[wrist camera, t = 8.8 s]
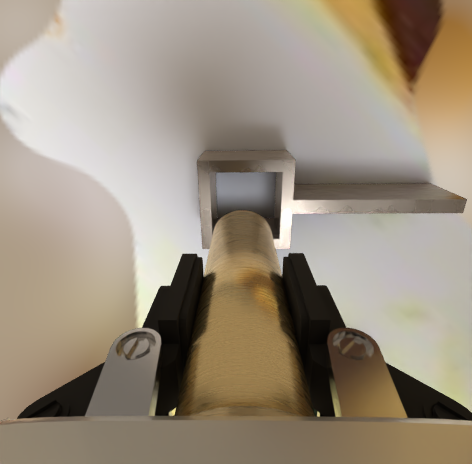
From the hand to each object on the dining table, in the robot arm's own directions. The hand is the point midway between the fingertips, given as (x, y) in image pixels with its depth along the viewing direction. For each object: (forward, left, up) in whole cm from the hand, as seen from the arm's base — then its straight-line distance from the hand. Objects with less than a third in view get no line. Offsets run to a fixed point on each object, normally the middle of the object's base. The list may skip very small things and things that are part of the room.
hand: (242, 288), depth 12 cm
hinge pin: (0, 0, -5) cm, 5 cm away
